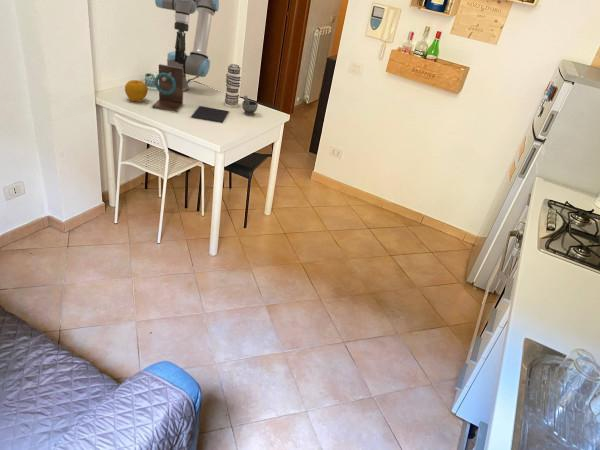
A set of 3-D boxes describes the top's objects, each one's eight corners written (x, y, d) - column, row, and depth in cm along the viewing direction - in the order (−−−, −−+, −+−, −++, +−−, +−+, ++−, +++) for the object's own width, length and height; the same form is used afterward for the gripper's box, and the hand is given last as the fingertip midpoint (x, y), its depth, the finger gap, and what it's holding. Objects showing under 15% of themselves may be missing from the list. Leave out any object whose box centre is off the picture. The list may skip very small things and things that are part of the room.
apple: (144, 96, 266) (144, 77, 260) (151, 103, 258) (150, 84, 251) (122, 97, 259) (121, 77, 253) (128, 104, 251) (127, 84, 245)
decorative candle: (222, 105, 276) (224, 64, 263) (227, 101, 284) (230, 62, 271) (235, 108, 275) (238, 68, 262) (240, 104, 283) (243, 65, 269)
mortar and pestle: (249, 110, 276) (250, 91, 270) (259, 114, 272) (262, 96, 265) (236, 113, 268) (238, 93, 261) (247, 117, 264) (249, 98, 257)
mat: (199, 107, 266) (199, 106, 266) (228, 112, 267) (228, 110, 266) (191, 117, 249) (191, 116, 249) (222, 122, 250) (222, 121, 249)
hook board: (160, 101, 264) (159, 64, 252) (183, 104, 265) (183, 68, 253) (151, 108, 251) (150, 69, 240) (175, 112, 252) (176, 74, 240)
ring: (155, 91, 250) (155, 70, 244) (176, 95, 251) (176, 74, 244) (154, 92, 248) (154, 71, 242) (175, 96, 249) (175, 75, 243)
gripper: (171, 21, 247) (169, 60, 254) (178, 21, 226) (175, 63, 234) (184, 24, 250) (182, 62, 258) (192, 24, 229) (189, 65, 237)
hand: (179, 63), depth 246 cm, fingers open, 13 cm apart
